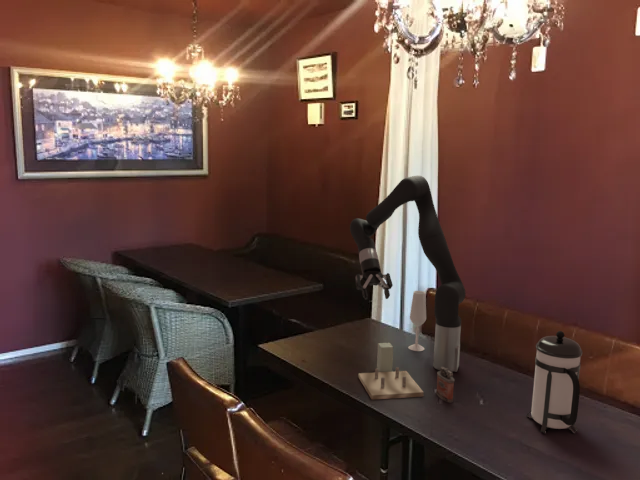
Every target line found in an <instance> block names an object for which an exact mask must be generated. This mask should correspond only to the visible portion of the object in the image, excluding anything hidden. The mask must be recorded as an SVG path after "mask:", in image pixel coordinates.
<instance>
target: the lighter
mask: <svg viewBox="0 0 640 480" xmlns="http://www.w3.org/2000/svg"><path fill="white" fill-rule="evenodd" d="M440 370H441V371H440ZM440 370H439V371H437V372H436V376H437V379H436V390H435V394H436V396H438V397H439V398H440V399H441V400H442V401H444V402H446V403H453V402H454V384H455V382H456V381H455V378H454V377H453V376H454V373H453V371H452V372H451V371H449V369H448V368H444V367H441V369H440Z"/></svg>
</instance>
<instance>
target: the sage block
mask: <svg viewBox="0 0 640 480" xmlns="http://www.w3.org/2000/svg"><path fill="white" fill-rule="evenodd" d="M393 358H394V346H393V345H392V344H391V343H390V342H380V343H379V342H378V343H377V358H376V369H379V370H378V372H393Z"/></svg>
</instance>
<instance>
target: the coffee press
mask: <svg viewBox="0 0 640 480" xmlns="http://www.w3.org/2000/svg"><path fill="white" fill-rule="evenodd" d="M535 348H536V355H535V358H534V359H535V360H534V363H535V364H534V365H535V366H534V375H533V386H532V395H531V403H530V404H531V405H530V411H529V412H528V413H527V414H526V418H527V417H528V416H530V413H531V416H530V417H531V418H530V419H533V420H534V421H535V422H536V423H537V424H539V425H541V427H540V431H539V432H540V433H541V432H543V433H542V434H544V433H545V431H547V432H548V429H549V428H550V429H556V430H557V429H558V430H561V429H568V430H569V431H570V430H571V428H572V427H573V429H574V431H575V432H576V431H577V430H578V428H577V426H576V424H575V423H576V422H577V419H578V413H579V412H578V411H579V401H580V390H581V387H580V380H579V379H580V370H581V364H582V363H581V358H582V356H583V350H582V348H581V346H580V344H579V343H578V342H576V340H573V339H571V338H568V337H565V332H563V331H561V330H558V331H557V332H556V333H555V335H547V336H543V337H542V338H540V339H539V340H538V342H536V344H535ZM571 426H572V427H571ZM577 432H578V431H577Z"/></svg>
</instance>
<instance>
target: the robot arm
mask: <svg viewBox="0 0 640 480" xmlns="http://www.w3.org/2000/svg"><path fill="white" fill-rule="evenodd" d="M428 182H429V181H428V180H427V178H425V177H424V176H422V175H413V176H408V177H404V178H403V179H401V180H400V181H399V182H398V183H397V185H396V186H395V187H394V188H393V190H392V191H391V192H390V193H389V194H388V195H387V196H386V197H385V198H384V199H383V200H382V201H381V202H380V203H379V204H377V205H376V206H374V207H373V208H372V209H371V210H369V211H368V212H367V214H366V216H365V219H362V218H358V217H357V218H354V219H352V220H351V222H350V225H349V232H350V234H351V237H352V239H353V240H354V243H355V244H356V246H357V250H358V259H359V263H360V269H361V273H362V274H360V273H356V275H355V286H356V290H357V291H361V293H362V298H364V300H368V299H369V294H368V290H367V286H368V285H369V287H370V286H379V287H380V288H382V289H383V293H384V297H385V300H388V299H389V297H390V295H391V293H390V290H391V289H392V287H393V286H394V285H393V281H392V279H391V275H390V273H389V272H387V273H385V274H383V273H382V269H381V264H380V260H379V255H378V252H377V250H376V245H375V242H374V239H373V238H372V236H374V235H375V233H376V232H377V230H378V229H379V227H380V226H381V225H382V224H384V223H385V222H386V221H387V220H389V219H390V218H391V217H392V216H393V214H394V213H395V211H396V210H397V209H398V208H400V207H401V206H403V205H405V204H407V203H410V202H415V205H416V208H417V211H418V228H417V234H418V239H419V243H420V245H421V248H422V251H423V253H424V255H425V256H426V258H427V259H428V261H429V262H430V263H431V265H432V266H433V267H434V268H435V271H436V273H437V274H438V277H439V282H440V285H439V286H438V287H437V289H436V290H435V294H434V317H435V331H434V332H435V333H434V344H433V345H434V347H433V348H434V349H433V364H432V365H433V368H434V369H436V370H437V371H439V372H440V371H441V370H440V369H441V367H444V368H448V369H449V371H451V372H452V373H453V372H458V369H459V366H460V353H461V352H460V351H461V329H462V318H461V317H460V316H459V305H460V304H461V303H462V302H464V301H465V298H466V293H467V292H466V289H465V286H464V283H463V282H462V280H461V278H460V275H459V272H458V271H457V269H456V266H455V263H454V261H453V257H452V254H451V252H450V249H449V246H448V243H447V240H446V237H445V234H444V231H443V229H442V228H443V227H442V226H441V223H440V220H439V217H438V214H437V211H436V207H435V204H434V200H433V196H432V191H431V187H430V184H429V183H428ZM361 280H363V281H364V282H365V283H364V284H363V285H362V282H361Z"/></svg>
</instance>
